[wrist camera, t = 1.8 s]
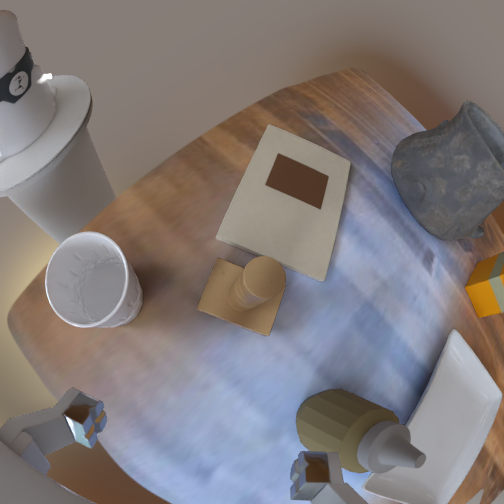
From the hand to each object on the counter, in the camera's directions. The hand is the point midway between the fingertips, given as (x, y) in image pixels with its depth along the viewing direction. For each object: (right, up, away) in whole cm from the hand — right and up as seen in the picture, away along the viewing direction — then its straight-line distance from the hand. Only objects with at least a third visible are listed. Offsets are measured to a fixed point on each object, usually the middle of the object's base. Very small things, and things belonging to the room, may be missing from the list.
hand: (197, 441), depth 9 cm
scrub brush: (0, +2, +22) cm, 22 cm away
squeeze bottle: (+10, -12, +20) cm, 26 cm away
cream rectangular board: (+8, +15, +28) cm, 33 cm away
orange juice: (+47, 0, +32) cm, 56 cm away
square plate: (+34, -23, +22) cm, 46 cm away
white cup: (-13, +2, +20) cm, 24 cm away
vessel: (+34, +16, +34) cm, 51 cm away
